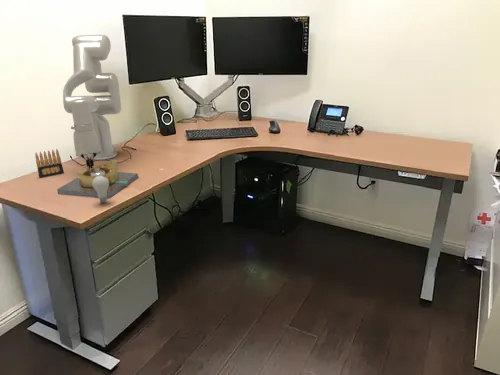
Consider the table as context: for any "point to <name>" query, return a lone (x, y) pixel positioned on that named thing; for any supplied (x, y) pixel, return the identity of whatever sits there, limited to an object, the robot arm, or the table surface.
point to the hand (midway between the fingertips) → (90, 167)
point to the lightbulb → (101, 187)
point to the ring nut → (108, 167)
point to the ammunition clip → (49, 164)
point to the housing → (79, 190)
